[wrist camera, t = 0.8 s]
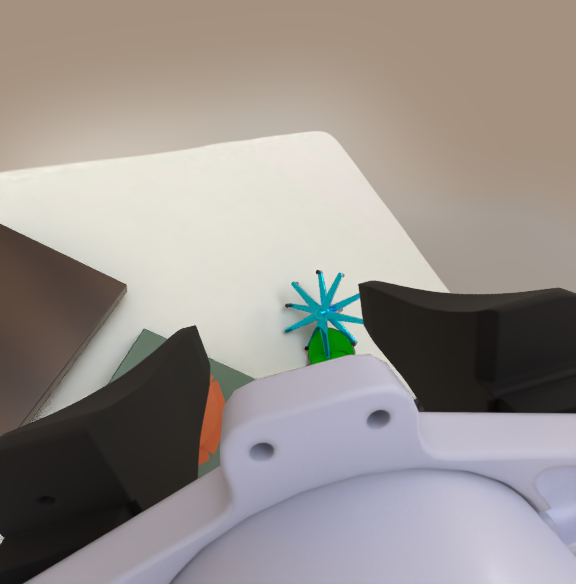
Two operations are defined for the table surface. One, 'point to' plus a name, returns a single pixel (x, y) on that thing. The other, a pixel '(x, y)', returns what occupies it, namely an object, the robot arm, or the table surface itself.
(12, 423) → the stand
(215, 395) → the hat
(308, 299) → the stick construction toy
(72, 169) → the table surface
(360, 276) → the table surface
